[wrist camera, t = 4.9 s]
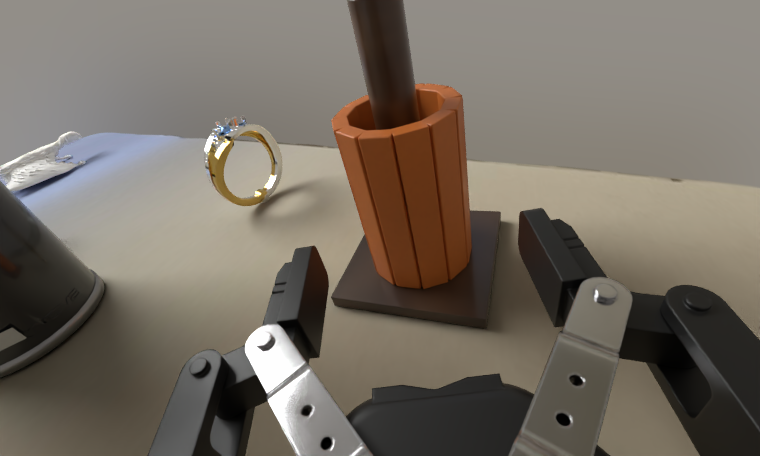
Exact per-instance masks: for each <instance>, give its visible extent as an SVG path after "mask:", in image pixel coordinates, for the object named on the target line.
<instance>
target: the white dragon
mask: <svg viewBox="0 0 760 456" xmlns="http://www.w3.org/2000/svg"><path fill="white" fill-rule="evenodd" d="M81 138H82V137H81V135H80V134H79V133H76V132H67V133H66V134H63V135H61V136H60V137H59V140H58V141H56V142H55V143H52V144H48V145H46V146H43V147H40V148H38V149H36V150H35V151H30V152H29V153H27V154H25V155H23V156H21V157H19V158H17V159H15V160H13V161H10V162H8V163H7V164H4V165H2V166H0V180H3V179H4V181H5V182H7V183H6V184H7V185H6V187H7V188H8V189H9V190H10V191H18V190H21V189H24V188H27V187H30V186H32V185H35V184H37V183H40V182H42V181H44V180H47V179H49V178H51V177H54V176H56V175H59V174H62V173H65V172H67V171H69V170H71V169H73V168H74V167H76V166H79V165H83V164H85V163H86V162H85V161H82V162H80V161H79V163H78V164H73V163H72V162H70V163H65V162H63V161H62V162H59V163H56V161H57V160H61V159H68V158H71V157H72V155H68V154H67V155H66V156H64V158H60V157H59V156H58V157H56V156H57V155H58V152H59V150H60V149H61V148H63V147H64V146H65V145H68V144H71V143H73V142H75V141H78V140H80V139H81Z"/></svg>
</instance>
